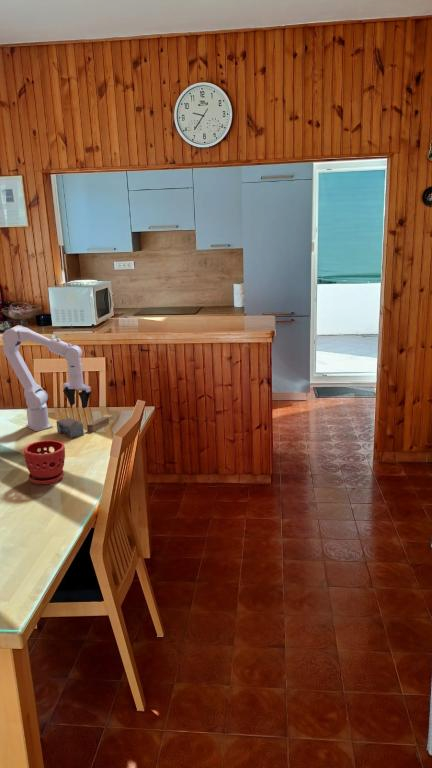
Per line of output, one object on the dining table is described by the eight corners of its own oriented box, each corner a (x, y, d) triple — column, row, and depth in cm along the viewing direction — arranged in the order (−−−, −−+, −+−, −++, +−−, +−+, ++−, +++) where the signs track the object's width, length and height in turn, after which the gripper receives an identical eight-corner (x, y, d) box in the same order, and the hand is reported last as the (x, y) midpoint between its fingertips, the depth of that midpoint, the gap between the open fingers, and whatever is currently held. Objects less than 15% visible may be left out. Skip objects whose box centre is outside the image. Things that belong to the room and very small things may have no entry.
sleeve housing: (57, 432, 246) (56, 421, 245) (70, 428, 250) (69, 417, 249) (70, 438, 238) (69, 427, 237) (83, 434, 242) (82, 423, 241)
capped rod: (87, 431, 246) (87, 424, 246) (107, 421, 259) (106, 414, 258) (93, 432, 245) (92, 425, 244) (113, 421, 257) (112, 415, 257)
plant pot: (27, 490, 193) (23, 456, 190) (28, 474, 206) (24, 442, 203) (68, 484, 197) (64, 450, 194) (67, 469, 209) (63, 437, 206)
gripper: (56, 374, 246) (59, 406, 250) (80, 379, 238) (83, 411, 242) (69, 371, 252) (72, 401, 256) (93, 375, 244) (96, 406, 248)
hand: (78, 406), depth 249 cm, fingers open, 7 cm apart
